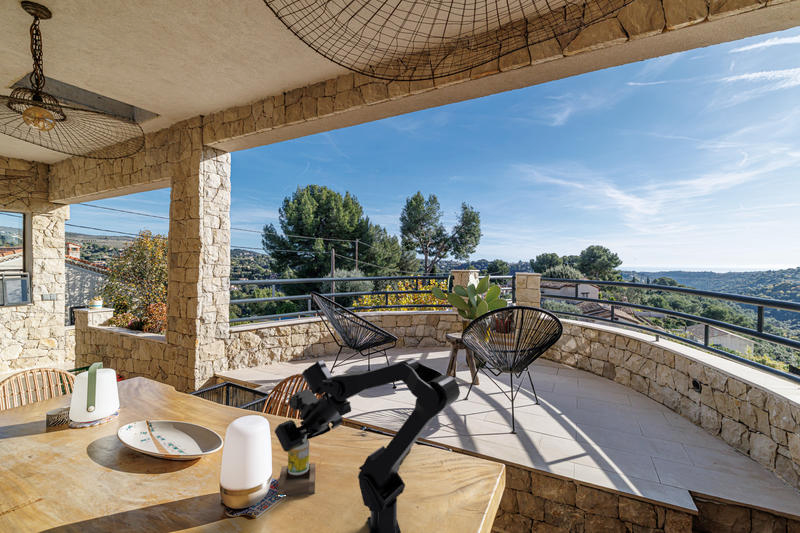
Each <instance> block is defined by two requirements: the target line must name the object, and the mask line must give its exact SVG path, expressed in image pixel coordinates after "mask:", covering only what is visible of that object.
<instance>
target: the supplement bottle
mask: <svg viewBox="0 0 800 533" xmlns="http://www.w3.org/2000/svg"><path fill="white" fill-rule="evenodd" d="M306 438H307V435H305V438H304V439H303V440H302V441H303V443H304V444H303V445H301V446H299V447H297V448H294V449H292V450H290V451H288V452H287V453H288V454H287V466H288V472H289V473H290V474H292V475H301V474H304V473H305V472H307V471H308V469H309V464H310V440H309V439H306Z"/></svg>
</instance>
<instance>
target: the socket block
mask: <svg viewBox="0 0 800 533" xmlns="http://www.w3.org/2000/svg"><path fill="white" fill-rule="evenodd" d="M279 473H280V474H279V478H278V483H277V496H278V495H286V496H287V497H289V498H290V497H296V496H297V497H298V496H305V495H313V494H315V493H316V462H314V463H313V462H312V463H309V469H308V471H307V472H305V473H304V474H301V475H292V474H290V473H289V472H288V465H282V466H281V469H280V472H279ZM277 496H276V497H277ZM287 497H286V498H287Z"/></svg>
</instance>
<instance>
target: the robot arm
mask: <svg viewBox="0 0 800 533" xmlns="http://www.w3.org/2000/svg"><path fill="white" fill-rule="evenodd" d="M301 375H302V377H303V379H304V381H305V384H307V386H308V388H309V389H303V390H300V391H297V392H295V394H292V396H291V397H289V401H288V406H289V408H291V409H292V410H293V411H296V410H298V412H300V413H299V418H300V420H301V421H300V426H297V425H296V423H295V421H294V420H292V419H289V420H287V421H286V420H285V421H284V422H282V423H280V424H278V425H277V426H276V428H275V430H274V434H275V436H276V437H277V439H278V442H279V443H280V445H281V448H282V449H283V451H284V452H285V453H286V452H287V453H288V451H290V450H292V449H294V448H297V447H299V446H301V445H303V444H304V443H303V441H302V440H303V439H304V438H305V435H307V438H306V439H308V440H310V439H314V438H316V437H319V436H322V435H325V434H326V433H328V432H330V431H331V430H334V429H336V428H338V427H340V425H341V424H342V423H343V416H344V415H347V414H349V413H351V412H352V406H351V402H350V401H348V399H350V398H352V397H355V396H357V395H360V394H362V393H363V392H365V391H367V390H369V389H372V388H377V387H380V386H381V387H382V386H385V385H388V384H393V383H396V382H401V381H402V382H403V383H404V384H405V385H406V386H407V389H408V390H409V391H410V393H411V394H412V396H414V397H415V398H416V399H415V405H414V408H413V411H412V412H411V413H410V415H409V416H408V417H407V419H406V421H405V422H404V423H403V424H402V425H401V426H400V428H399V430H398V431H397V432H396V433H395V435H394V437H393V438H392V439H391V440H390V441H389V443H388V445H387V446H386V447H385V445H383V446H381V447H379V448H378V449H376V450H375V451H374V452H372V453H370V454H369V455H368V456H367V457H366V458H365V461H364V463H363V464H362V465H361V466H359V467H358V469H359V473H358V474H357V479H358V483H359V485H358V486H359V489H360V492H361V497H362V498H361V499H362V502H363V505H364V506H365V507H367V508H368V509H369V510H368V511H369V512H370V516H368V517H367V519H366V520H367V527H368V531H369V533H402V531H401V528H400V525H399V522H398V516H397V513H398V512H397V511H398V509H397V508H398V497H399V496H400V495H401V494H403V493H404V491H405V488H406V484H405V482H404V481H403V479H402V477H401V476H400V474H399V473H398V472H399V470H400V467H401V464H400V462H401V460H402V458H403V457H404V456H405V455H406V453H407V452H408V451H409V449H410V448H411V449H412V447H413V445H414V444H415V443H416V442H417V441H418V439H419V437H421V435H422V434H423V433H424V431H425V430H426V429H427V428H428V426H429V425H430V424H431V423H432V422H433V420H434V419H435V418H436V417H437V416H438V415H440V414H442V412H443V411H445V410H446V409H447V408H449V407H450V406H451V405H452V404H453V403H454V402H456V401H457V400H458V399H459V396H460V395H461V394H460V393H461V391H460V385H459V384H458V382H457V380H456V379H455V378H454V377H452V376H451V375H448V374H444V373H442V371H439V370H438V369H436V368H433V367H431V366H429V365H426V364H424V363H422V362H420V361H419V360H417V359H415V358H414V357H413V358H412V357H410V358H407V359H404V360H401V361H399V362H397V363H393V364H390V365H386V366H382V367H380V368H376V369H372V370H368V371H365V370H352V371H348V372H345V373H343V374H337V375H335V376H333V375H332V373H331V372H330V369H329V368H328V367H327V365H326V362H325V361H324V360H323V359H320V360H317V361H316V362H315V363H313V364H312V365H310V366H309V367H308V368H305V369H304V370H303V371H302V373H301ZM316 394H318V396H321V397H319V399H318V396H316ZM330 424H331V426H330ZM406 456H407V455H406ZM406 456H405V457H406ZM401 463H402V462H401Z"/></svg>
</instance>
